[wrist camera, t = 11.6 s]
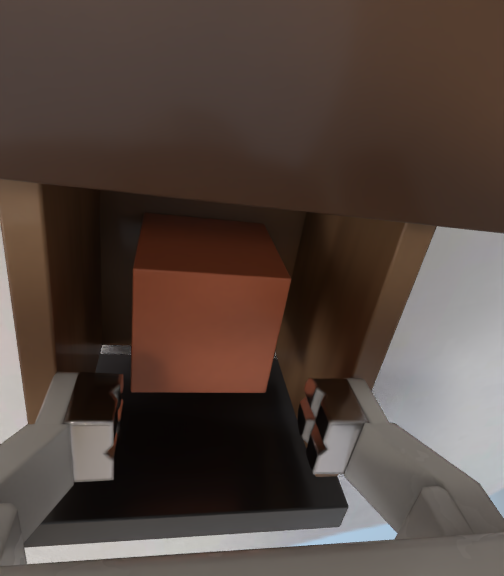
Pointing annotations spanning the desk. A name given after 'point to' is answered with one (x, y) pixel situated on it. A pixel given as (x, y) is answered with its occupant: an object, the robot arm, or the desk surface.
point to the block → (205, 305)
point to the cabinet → (263, 103)
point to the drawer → (198, 406)
